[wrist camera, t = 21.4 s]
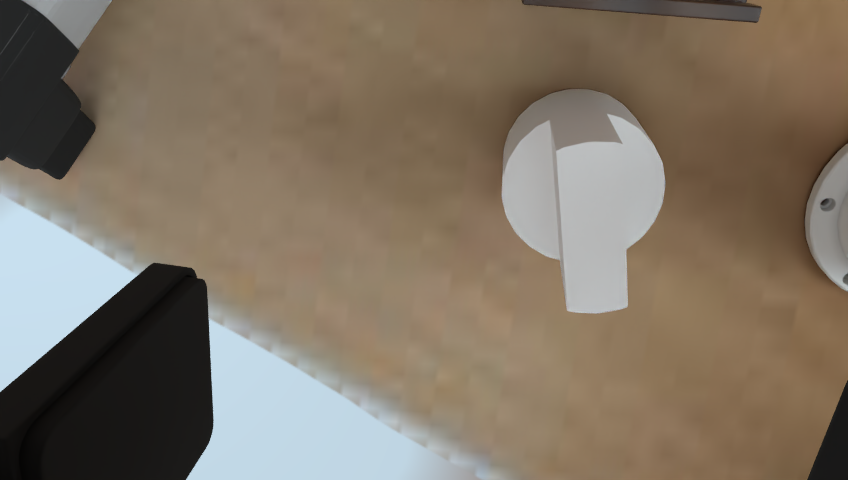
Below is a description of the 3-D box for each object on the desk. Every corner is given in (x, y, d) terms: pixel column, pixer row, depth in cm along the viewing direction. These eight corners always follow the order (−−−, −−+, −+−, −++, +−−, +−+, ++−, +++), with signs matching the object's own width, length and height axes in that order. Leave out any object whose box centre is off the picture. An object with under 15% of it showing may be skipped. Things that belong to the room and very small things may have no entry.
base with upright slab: (495, 97, 43) (490, 151, 32) (645, 80, 42) (692, 131, 31) (509, 229, 47) (508, 319, 36) (647, 217, 45) (690, 307, 34)
